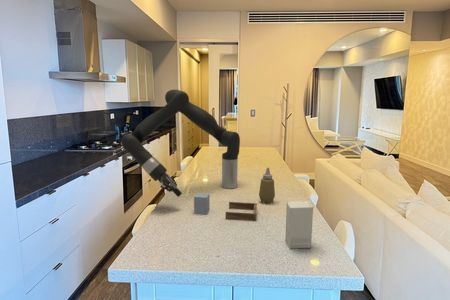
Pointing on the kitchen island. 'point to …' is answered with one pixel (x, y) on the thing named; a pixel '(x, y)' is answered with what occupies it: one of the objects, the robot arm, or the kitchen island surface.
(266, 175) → the squeeze bottle
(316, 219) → the kitchen island surface
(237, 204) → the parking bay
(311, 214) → the skincare box
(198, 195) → the slate block
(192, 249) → the kitchen island surface
